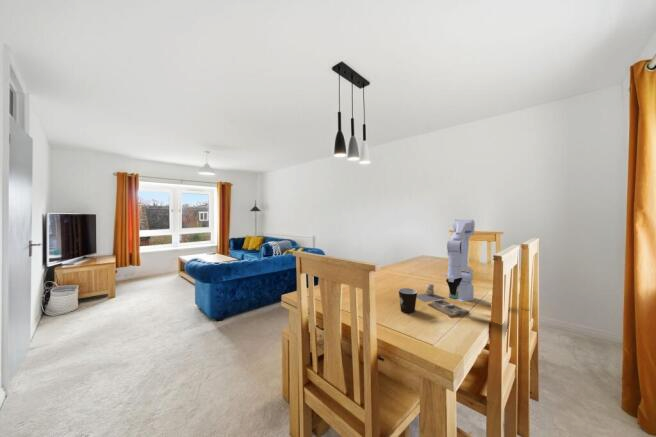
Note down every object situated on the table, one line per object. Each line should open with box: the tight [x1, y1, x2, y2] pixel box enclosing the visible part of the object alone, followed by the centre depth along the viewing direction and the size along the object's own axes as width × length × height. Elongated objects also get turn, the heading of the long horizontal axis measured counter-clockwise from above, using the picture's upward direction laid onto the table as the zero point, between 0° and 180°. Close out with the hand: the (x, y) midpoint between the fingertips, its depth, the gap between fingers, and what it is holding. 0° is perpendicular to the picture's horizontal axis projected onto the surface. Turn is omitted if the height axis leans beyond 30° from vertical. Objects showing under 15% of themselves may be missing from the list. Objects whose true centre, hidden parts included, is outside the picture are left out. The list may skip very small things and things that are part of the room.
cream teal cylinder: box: [448, 286, 459, 300], centre depth 117 cm, size 4×4×6 cm
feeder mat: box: [416, 292, 445, 303], centre depth 137 cm, size 14×10×1 cm
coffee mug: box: [398, 287, 418, 315], centre depth 120 cm, size 12×9×10 cm
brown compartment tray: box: [427, 299, 470, 318], centre depth 121 cm, size 12×14×2 cm
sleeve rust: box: [425, 283, 435, 296], centre depth 139 cm, size 4×4×6 cm
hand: (454, 293), depth 117 cm, fingers closed on cream teal cylinder, 4 cm apart
